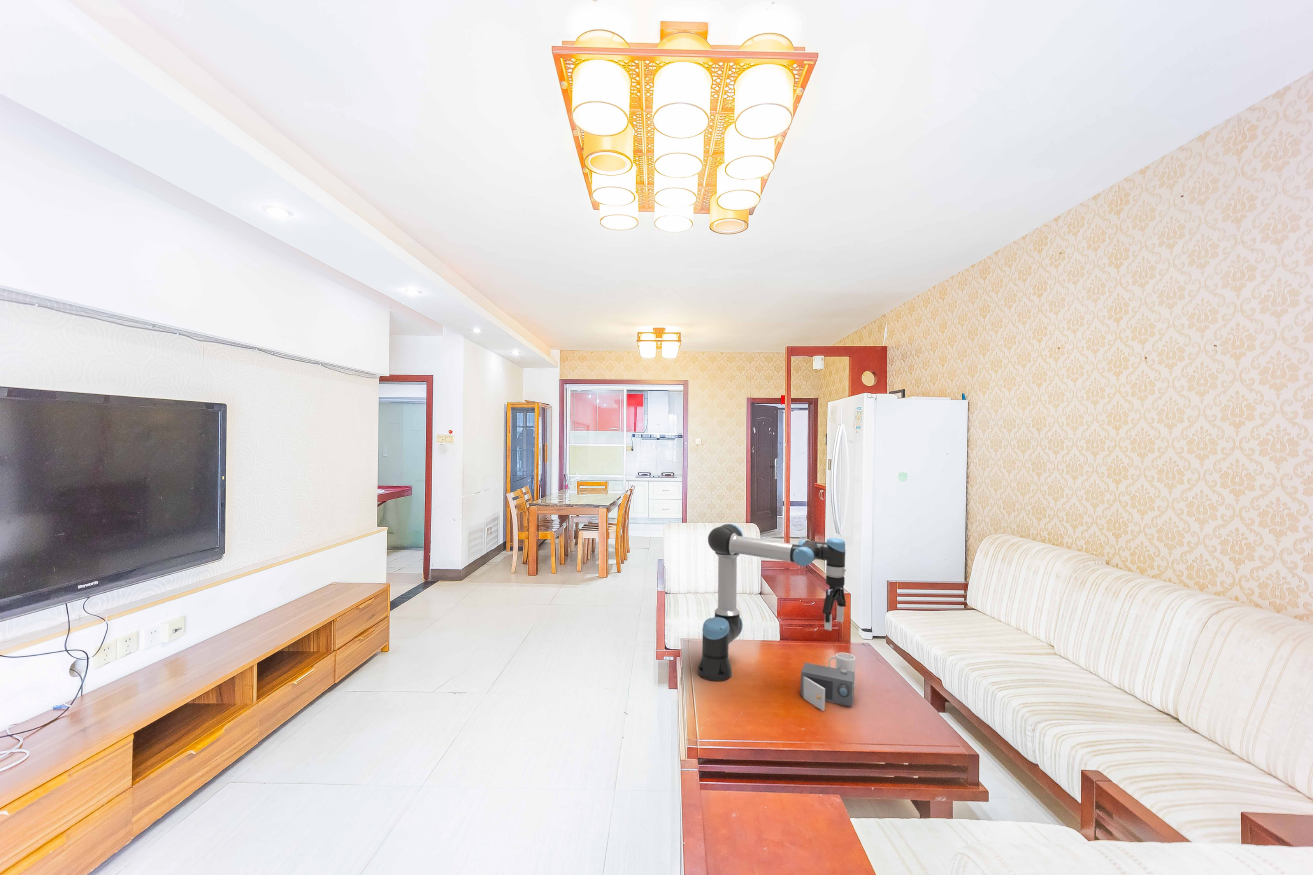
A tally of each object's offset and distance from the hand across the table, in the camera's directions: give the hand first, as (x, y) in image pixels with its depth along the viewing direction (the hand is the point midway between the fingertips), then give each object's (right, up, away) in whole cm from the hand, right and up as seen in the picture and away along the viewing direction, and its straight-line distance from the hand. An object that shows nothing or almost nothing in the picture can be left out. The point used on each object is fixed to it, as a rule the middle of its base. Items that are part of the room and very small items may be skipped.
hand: (834, 625), depth 228 cm
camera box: (-5, -27, -7) cm, 28 cm away
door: (-13, -26, -14) cm, 33 cm away
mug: (+5, -27, +6) cm, 28 cm away
